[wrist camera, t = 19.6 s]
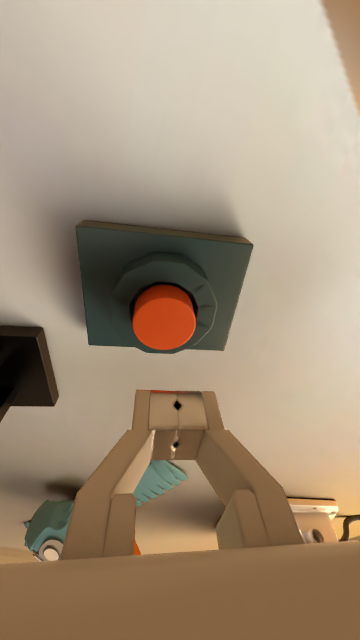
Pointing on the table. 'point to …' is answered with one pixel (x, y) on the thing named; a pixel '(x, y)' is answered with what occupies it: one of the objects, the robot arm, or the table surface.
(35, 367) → the lever bracket
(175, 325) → the stop button
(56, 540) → the owl figurine
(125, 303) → the button housing
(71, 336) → the table surface
